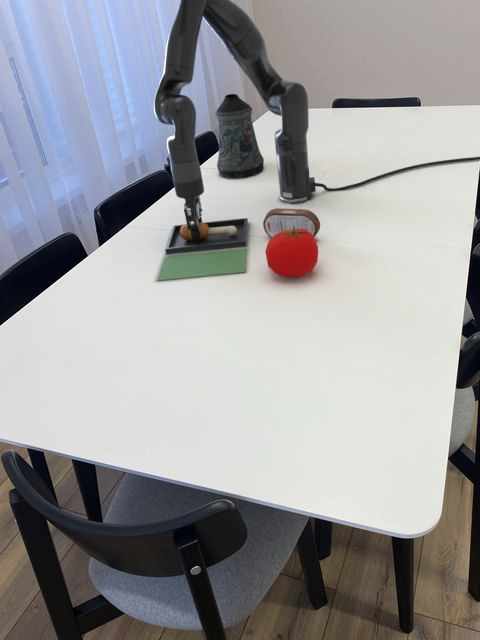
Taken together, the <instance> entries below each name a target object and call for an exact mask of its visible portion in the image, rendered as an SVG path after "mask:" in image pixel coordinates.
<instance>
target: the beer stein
mask: <svg viewBox="0 0 480 640" xmlns="http://www.w3.org/2000/svg"><path fill="white" fill-rule="evenodd" d="M252 114H253V107H252V106H251V105H250V104H248V103H247V102H246V101H244V100H243V99H242V98H240V96H239V95H238V94H236V93H229V94H226V95H224V99H223V101H222V102H221V103H220V105H219V106H218V108H217V109H216V111H215V117H216V119H217V121H218V156H217V157H218V158H217V163H216V167H217V170H218V173H219V176H220V177H221V178H223V179H226V180H227V179H228V180H240V179H241V180H242V179H247V178H251V177H256V176H257V175H259V174H261V173H262V172H263V170H264V164H265V163H264V162H265V158H264V156H263V154H262V153H261V150H260V147H259V144H258V141H257V136H256V132H255V128H254V125H253V121H252Z"/></svg>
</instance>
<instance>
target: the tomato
mask: <svg viewBox="0 0 480 640" xmlns="http://www.w3.org/2000/svg"><path fill="white" fill-rule="evenodd" d="M265 258H266V263H267V267H268V268H269V269H270V270H271V271H272V272H273V273H274V274H276V275H278V276H279V277H283V278H299V277H305V276H306V275H308V274H310V273H311V272H312V271H313V270H314V268H315V267H316V265H317V263H318V260H319V245H318V243H317V240H316V236H315V237H314V236H313V235H312V233H311V232H309V231H307V230H305V229H296V230H295V226H294V228H293V231H290V230H284V231H282V232H280V233H278V234H276V235H274V236H273V237H272V238H270V239H269V240H268V242H267V244H266V248H265Z"/></svg>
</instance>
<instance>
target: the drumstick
mask: <svg viewBox="0 0 480 640" xmlns="http://www.w3.org/2000/svg"><path fill="white" fill-rule="evenodd" d="M192 224H194V222H191V225H192ZM182 225H183V226H182V227H181V229H180V235H181V237H182V238H183V239H184V240H187V241H192V236H191V231H190V230H188V228H187V223H185V225H184V224H182ZM198 225H199V232H200V237H201V240H202V239H205V238H207V237H208V236H210V235H220V234H228V235H230V236H234V235H236V233H237V229H236V227H235V226H225V227H215V228H209V227H208V225H207V224H205V223H204V222H203V221H202V222H200V223H198Z"/></svg>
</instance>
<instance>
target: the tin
mask: <svg viewBox="0 0 480 640" xmlns="http://www.w3.org/2000/svg"><path fill="white" fill-rule="evenodd" d="M262 223H263V224H262V226H263V230H264V232H265V234H266V235H267V236H268V237H269V238H270V239H271V238H272V237H273V236H274V235H276V234H278V233H280V232H282V231H284V230H290V231H293V228H294V226H295V230H296V229H305V230H307V231H309V232H311V233H312V235H313V236H314V237H315V238H316V237H317V234H318V233H319V232H320V229H321V222H320V219H319V217H318V216H317V214H316V213H314V212H313V211H311V210H309V209H305V208H281V207H280V208H271V210H269V211H268V212H267V213H266V215H265V217H264V219H263V221H262Z"/></svg>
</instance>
